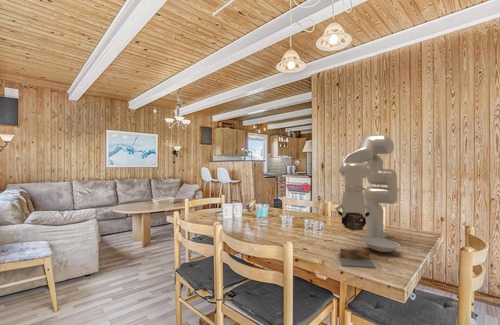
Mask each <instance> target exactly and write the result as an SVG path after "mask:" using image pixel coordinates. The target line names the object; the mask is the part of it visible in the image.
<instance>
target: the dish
mask: <svg viewBox="0 0 500 325" xmlns="http://www.w3.org/2000/svg"><path fill="white" fill-rule="evenodd" d="M362 242H363V243H364V244H365V245H366V247H369V248H370V249H371V250H374V251H377V252H379V253H389V252H390V253H391V252H393V251H396V250H397V249H398V248H400V247H401V244H400V243H399V242H397V241H394V240H391V239H387V238H386V239H380V238H363V239H362Z"/></svg>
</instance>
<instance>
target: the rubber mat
mask: <svg viewBox="0 0 500 325" xmlns="http://www.w3.org/2000/svg"><path fill="white" fill-rule="evenodd" d="M337 255H338V258H339V261H340V263H341V266H342V267H351V268H364V269H365V268H366V269H376V268H377V266H376V265H375V264H374V263H373V261H372V260H371V258H370V257H369V260H366V259H351V258H341V257H340V253H337Z"/></svg>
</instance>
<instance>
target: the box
mask: <svg viewBox="0 0 500 325" xmlns="http://www.w3.org/2000/svg"><path fill="white" fill-rule="evenodd" d="M344 228H345V229H347V230H350V231H352V232H354V231H355V232H356V231H363V230H364V227H363V215H362V214H361V213H347V214H346V215H345V226H344Z"/></svg>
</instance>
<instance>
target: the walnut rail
mask: <svg viewBox="0 0 500 325" xmlns="http://www.w3.org/2000/svg"><path fill="white" fill-rule="evenodd" d="M339 254H340V257H341V258H351V259H366V260H369V258H370V250H368V249H356V248H355V249H354V248H351V249H349V248H340V253H339Z"/></svg>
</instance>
